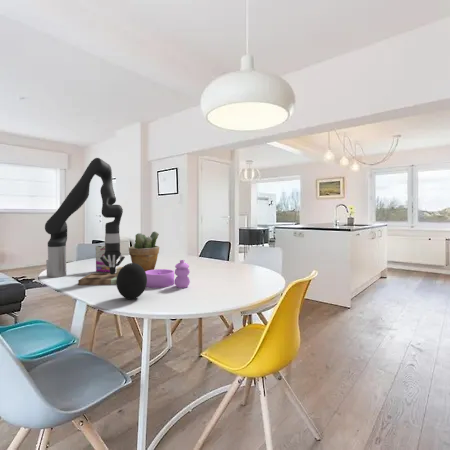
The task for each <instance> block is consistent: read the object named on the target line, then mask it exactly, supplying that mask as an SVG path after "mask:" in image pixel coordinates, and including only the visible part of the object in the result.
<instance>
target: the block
mask: <svg viewBox="0 0 450 450" xmlns="http://www.w3.org/2000/svg"><path fill="white" fill-rule="evenodd" d="M122 267H123V266H117V267H116V272H115V273H116V277H117V275H118V273H119V271H120V270H121V268H122Z"/></svg>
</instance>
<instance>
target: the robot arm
mask: <svg viewBox="0 0 450 450" xmlns="http://www.w3.org/2000/svg"><path fill="white" fill-rule="evenodd" d="M94 176H97V177H99V178H100V179H101V181H102V184H101V187H100V196H101V202H102V206H101V215H102V217H103V218H106V219H107V218H108V219H109V218H111V219H112V218H114V219H113V220H112V221H108V222H106V223H105V225H104V228H105V232H104V233H105V234H104V245H105V253H104V256H102V257H100V259H101V260H102V262H103V263H104V264H105V265H106V266H108V267H109V268H110V273H111V274H115V273H116V268H117V267H120V264H121V263H122V262H123V261H124V260H125V258H126V257H125V256H124V255H122V253H121V237H120V225H121V220H122V216H123V212H124V211H123V210H124V209H123V207H122V205H120V204H116V202H117V199H116V198H117V197H116V194H115V191H114V186H113V172H112V167H111V165H110V164H109V163H107V161H104V160H103V159H102V158H100V157H95V158H93V159H92V160H91V161H90V162H89V164H88V165H87V167H86V169H85V170H84V172H83V174H82V175H81V177H80V178H79V180H78V181H77V182H76V184H75V185H74V186H73V188H72V189H71V190H70V192H69V193H68V194H67V195H66V196H65V198H64V200H63V202H62V203H61V204H60V206H59V207H58V208H57V210H56V211H55V212H54V213H52V215H51V216H50V217H49V219H48V220H47V221H46V222H45V224H44V230H45V232H46V233H47V234H48V235H50V237H49V240H48V241H47V259H46V261H45V262H46V277H47V278H48V277H49V278H60V277H64V276H67V241H68V224H67V220H68V219H69V218H70V217H71V216H72V215H74V213H75V212H77V211H78V210H80V208H81V207H83V205H84V204H85V202H86V201H87V199H88V198H89V195H90V185H91V182H92V179H93V178H94ZM106 258H107V260H108V261H109V263H108V262H107V260H106ZM118 259H119V260H118Z"/></svg>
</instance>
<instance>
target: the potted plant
mask: <svg viewBox="0 0 450 450" xmlns="http://www.w3.org/2000/svg"><path fill="white" fill-rule="evenodd" d="M158 237H159V232H157V231H152V232H151V235H150V236H146V234H142V233H140V232H138V233H137V234H135V240H134V244H133V246H129V247H128V254H129V255H130V261H131V263H136V264H138V265H140V266H141V267H142V268H143V269H144V270H145V271H148V270H155V268H156V265H157V261H158V256H159V253H160V246H159V245H156V243H157V239H158Z"/></svg>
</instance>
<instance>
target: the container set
mask: <svg viewBox="0 0 450 450" xmlns="http://www.w3.org/2000/svg"><path fill="white" fill-rule="evenodd" d="M174 267H175V269H174V270H173V269H165V268H161V269H160V268H159V269H155V268H154V270H148V271H145V272H146V276H147V285H146V288H150V287H151V288H152V289H153V288H154V289H155V288H156V289H158V288H161V287H162V288H168V287H172V286H174V285H175V286H176V288H179V289H183V288H188V286H189V285H190V283H191V279H190V277H189V276H188V275H190V272H191V271H190V269H189V267H190V264H188V263H187V262H185V260H184V259H179V262H178V263H176V264H175V266H174ZM175 276H176V277H175Z"/></svg>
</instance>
